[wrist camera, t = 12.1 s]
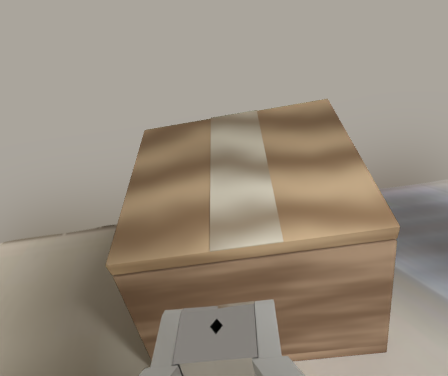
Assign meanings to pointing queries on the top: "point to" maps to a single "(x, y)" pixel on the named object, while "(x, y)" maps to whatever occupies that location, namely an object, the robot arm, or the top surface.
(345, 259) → the wooden crate
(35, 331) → the top surface
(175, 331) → the robot arm
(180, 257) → the lid
